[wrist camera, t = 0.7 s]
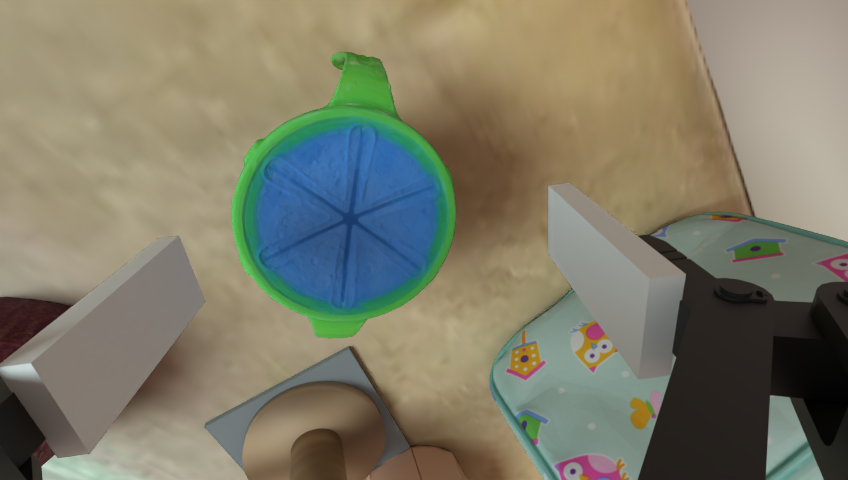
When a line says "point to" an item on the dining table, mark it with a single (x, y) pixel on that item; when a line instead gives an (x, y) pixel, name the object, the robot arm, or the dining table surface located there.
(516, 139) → the dining table surface
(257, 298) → the dining table surface
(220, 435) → the mat
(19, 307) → the vegetable
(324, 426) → the paper towel holder
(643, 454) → the lunch box
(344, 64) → the snack cup
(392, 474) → the bowl
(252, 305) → the dining table surface
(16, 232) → the dining table surface
